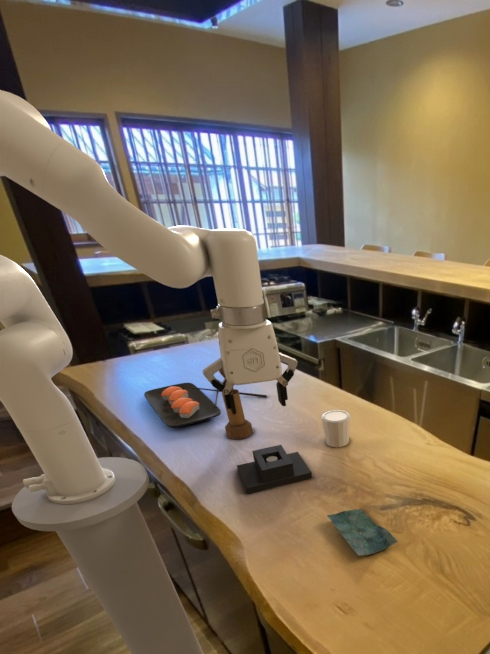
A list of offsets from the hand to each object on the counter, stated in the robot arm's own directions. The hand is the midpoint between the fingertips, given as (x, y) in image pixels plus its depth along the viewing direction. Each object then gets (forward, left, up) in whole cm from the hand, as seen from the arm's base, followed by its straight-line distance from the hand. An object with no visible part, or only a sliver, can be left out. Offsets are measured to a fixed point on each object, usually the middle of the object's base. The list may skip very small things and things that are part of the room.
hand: (258, 407), depth 84 cm
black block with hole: (+1, 0, -14) cm, 14 cm away
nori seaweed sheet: (+10, -27, -16) cm, 33 cm away
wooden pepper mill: (-2, +23, -16) cm, 28 cm away
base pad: (+1, 0, -16) cm, 16 cm away
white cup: (+19, +8, -16) cm, 26 cm away
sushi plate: (-6, +47, -16) cm, 50 cm away
